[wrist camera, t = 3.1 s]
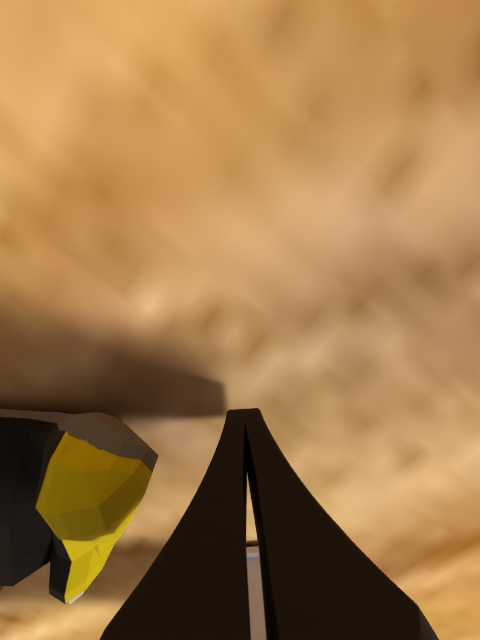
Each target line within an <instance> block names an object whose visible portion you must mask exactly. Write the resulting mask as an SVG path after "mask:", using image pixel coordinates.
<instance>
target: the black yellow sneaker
mask: <svg viewBox="0 0 480 640" xmlns="http://www.w3.org/2000/svg"><path fill="white" fill-rule="evenodd" d="M157 458H158V454H156V453H155V452H154V451H153V450H152V449H151V448H150V447H149V446H148V445H147V444H146V443H145V442H144V441H143V440H142V439H141V438H140V437H139V436H138V435H137V434H135V433H134V432H133V431H132V430H131V429H130V428H129V427H128V426H127V425H125V424H124V423H123V422H122V421H121V420H119V419H118V418H116V417H113V416H110V415H107V414H105V413H102V412H91V413H80V414H65V413H60V412H39V411H25V410H11V409H0V586H14V585H15V584H17V583H18V582H20V581H21V580H23V579H24V578H26V577H27V576H29V575H30V574H32V573H33V572H35V571H36V570H38V569H39V568H41V567H42V566H44V565H45V564H47V563H48V562H50V579H49V593H50V594H51V595H52V596H54V597H55V598H57V599H58V600H60V601H61V602H63V603H65V604H66V603H68V604H69V605H70V604H71V603H72V602H74V601H75V600H76V599H77V598H79V597H80V596H81V595H82V594H83V593H84V591H85V590H86V589H87V588H88V586H89V585H90V584H91V583H92V581H93V580H94V579H95V577H96V576H97V575H98V574H99V572H100V571H101V570H102V568H103V566H104V564H105V562H106V560H107V558H108V556H109V554H110V552H111V550H112V548H113V546H114V544H115V542H116V541H117V540H118V539H119V538H120V537H121V536H122V534H123V532H124V530H125V529H126V527H127V525H128V524H129V522H130V520H131V518H132V517H133V515H134V513H135V511H136V509H137V508H138V506H139V504H140V502H141V500H142V498H143V496H144V494H145V492H146V489H147V486H148V483H149V481H150V478H151V475H152V472H153V469H154V467H155V464H156V461H157Z"/></svg>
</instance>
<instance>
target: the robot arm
mask: <svg viewBox="0 0 480 640" xmlns="http://www.w3.org/2000/svg"><path fill="white" fill-rule="evenodd" d="M247 474H248V481H249V487H250V494H251V500H252V507H253V513H254V519H255V526H256V532H257V540H258V546H254V547H246V504H247ZM100 640H439V639H438V637H437V635H436V634H435V632H434V630H433V629H432V627H431V626H430V624H429V622H428V621H427V619H426V618H425V616H424V614H423V613H422V611H421V610H420V608H419V607H418V605H417V604H416V603H415V602H414V601H413V600H412V599H411V598H409V597H408V596H407V595H406V594H405V593H404V592H403V591H402V590H401V589H400V588H399V587H398V586H397V585H396V584H395V583H394V582H392V581H391V580H390V579H389V578H388V577H387V576H386V575H385V574H384V573H383V572H382V571H381V570H380V569H379V568H378V567H377V566H376V565H375V564H374V563H373V562H372V561H371V560H370V559H369V558H368V557H367V556H366V555H365V554H364V553H363V552H362V551H361V550H360V549H359V548H358V547H357V546H356V545H355V543H354V542H353V541H352V540H351V539H350V538H349V537H348V536H347V535H346V534H345V533H344V531H343V530H342V529H341V528H340V527H339V526H338V525H337V524H336V523H335V521H334V520H333V519H332V518H331V517H330V516H329V515H328V514H327V513H326V511H325V510H324V509H323V508H322V507H321V505H320V504H319V503H318V502H317V500H316V499H315V498H314V497H313V496H312V494H311V493H310V492H309V490H308V489H307V488H306V487H305V485H304V484H303V483H302V481H301V480H300V478H299V477H298V476H297V474H296V473H295V472H294V470H293V469H292V467H291V466H290V464H289V463H288V461H287V460H286V458H285V457H284V455H283V453H282V452H281V450H280V448H279V447H278V445H277V443H276V442H275V440H274V438H273V437H272V435H271V433H270V431H269V429H268V427H267V425H266V423H265V421H264V419H263V416H262V414H261V411H260V410H259V409H258V408H252V409H236V410H229V411H228V412H227V415H226V420H225V424H224V428H223V431H222V434H221V437H220V440H219V443H218V445H217V448H216V451H215V453H214V456H213V458H212V460H211V463H210V465H209V467H208V469H207V472H206V474H205V476H204V478H203V480H202V482H201V484H200V486H199V488H198V490H197V492H196V494H195V496H194V497H193V499H192V501H191V503H190V505H189V507H188V508H187V510H186V512H185V513H184V515H183V517H182V519H181V520H180V522H179V524H178V525H177V527H176V529H175V530H174V532H173V533H172V535H171V537H170V538H169V540H168V541H167V543H166V544H165V546H164V547H163V549H162V550H161V552H160V553H159V555H158V556H157V558H156V559H155V561H154V562H153V564H152V565H151V567H150V568H149V570H148V571H147V573H146V574H145V575H144V577H143V578H142V580H141V581H140V583H139V584H138V585H137V587H136V588H135V589H134V591H133V592H132V593H131V595H130V596H129V597H128V599H127V600H126V601H125V603H124V604H123V605H122V607H121V608H120V609H119V611H118V612H117V614H116V615H115V616H114V618H113V619H112V620H111V622H110V623H109V624H108V626H107V627H106V628H105V630H104V632H103V634H102V636H101V638H100Z"/></svg>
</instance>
